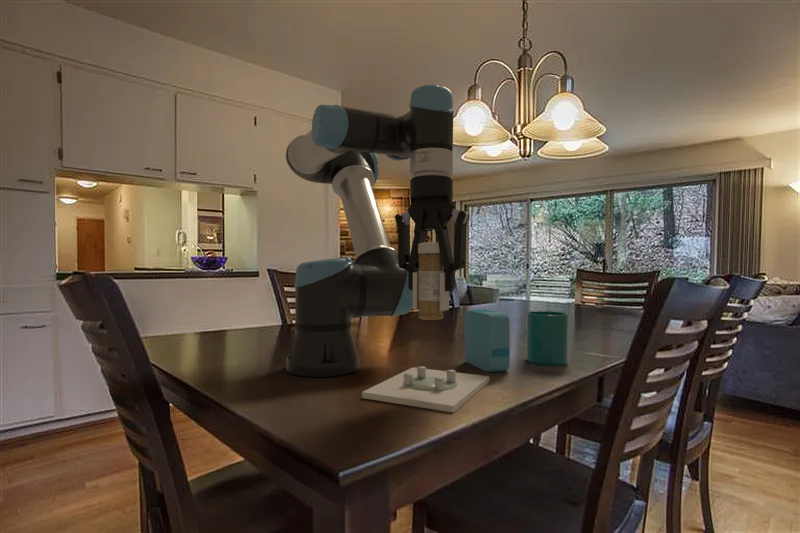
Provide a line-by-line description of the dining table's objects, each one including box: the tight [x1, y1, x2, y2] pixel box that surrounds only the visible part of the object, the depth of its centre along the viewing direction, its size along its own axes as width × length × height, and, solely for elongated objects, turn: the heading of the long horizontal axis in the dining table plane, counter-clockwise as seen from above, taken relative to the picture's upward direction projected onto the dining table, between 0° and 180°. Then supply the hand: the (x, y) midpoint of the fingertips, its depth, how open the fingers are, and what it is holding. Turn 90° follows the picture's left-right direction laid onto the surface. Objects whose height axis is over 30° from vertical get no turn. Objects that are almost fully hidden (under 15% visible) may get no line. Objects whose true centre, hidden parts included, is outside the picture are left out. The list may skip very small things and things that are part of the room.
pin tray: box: [361, 365, 490, 413], centre depth 80 cm, size 16×20×3 cm
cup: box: [525, 310, 569, 367], centre depth 104 cm, size 9×12×11 cm
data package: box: [464, 309, 511, 373], centre depth 98 cm, size 12×4×12 cm, turn 17°
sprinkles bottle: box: [417, 241, 444, 321], centre depth 80 cm, size 5×5×14 cm
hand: (430, 309), depth 80 cm, fingers closed on sprinkles bottle, 4 cm apart
